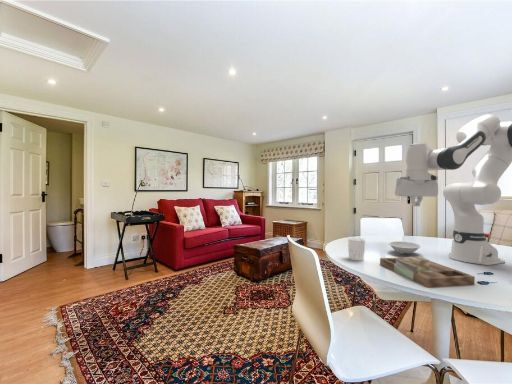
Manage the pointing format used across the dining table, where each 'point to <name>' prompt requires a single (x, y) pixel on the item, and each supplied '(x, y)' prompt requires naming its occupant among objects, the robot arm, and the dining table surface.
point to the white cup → (356, 248)
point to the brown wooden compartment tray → (428, 273)
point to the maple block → (419, 263)
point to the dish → (404, 247)
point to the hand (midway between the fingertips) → (415, 206)
